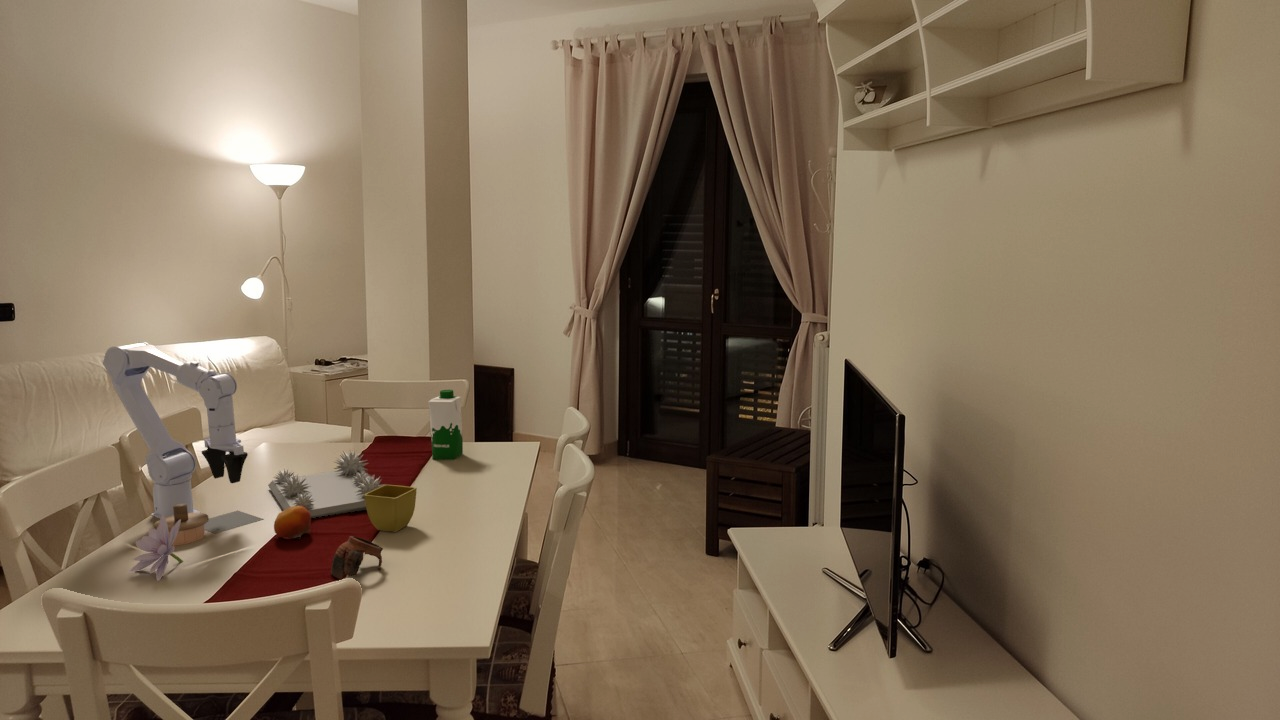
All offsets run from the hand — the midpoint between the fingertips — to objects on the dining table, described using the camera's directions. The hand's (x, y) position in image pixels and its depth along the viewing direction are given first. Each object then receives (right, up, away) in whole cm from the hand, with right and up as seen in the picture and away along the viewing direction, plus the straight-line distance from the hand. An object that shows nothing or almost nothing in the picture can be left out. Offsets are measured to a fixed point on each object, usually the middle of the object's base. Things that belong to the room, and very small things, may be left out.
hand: (226, 479), depth 213 cm
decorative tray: (+19, -8, +18) cm, 27 cm away
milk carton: (+41, -1, +56) cm, 70 cm away
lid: (-5, -8, -12) cm, 15 cm away
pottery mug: (+42, -15, -34) cm, 56 cm away
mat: (+1, -10, -1) cm, 10 cm away
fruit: (+21, -12, -11) cm, 26 cm away
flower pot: (+42, -10, -8) cm, 44 cm away
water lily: (0, -15, -30) cm, 34 cm away
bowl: (-5, -12, -12) cm, 18 cm away
